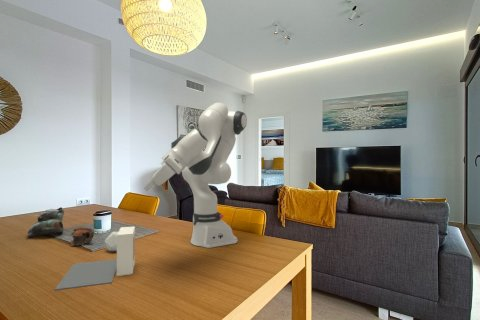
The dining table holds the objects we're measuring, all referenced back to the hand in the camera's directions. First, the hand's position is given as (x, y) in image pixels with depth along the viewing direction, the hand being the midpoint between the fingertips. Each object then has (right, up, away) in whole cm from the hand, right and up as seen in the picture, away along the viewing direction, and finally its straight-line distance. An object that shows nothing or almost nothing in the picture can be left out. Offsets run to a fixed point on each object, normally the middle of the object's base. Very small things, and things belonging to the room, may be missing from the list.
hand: (145, 189), depth 96 cm
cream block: (-6, -29, -2) cm, 29 cm away
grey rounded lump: (-65, -28, +39) cm, 81 cm away
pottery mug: (-39, -28, +26) cm, 54 cm away
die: (-19, -28, +17) cm, 38 cm away
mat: (-17, -28, -5) cm, 34 cm away
